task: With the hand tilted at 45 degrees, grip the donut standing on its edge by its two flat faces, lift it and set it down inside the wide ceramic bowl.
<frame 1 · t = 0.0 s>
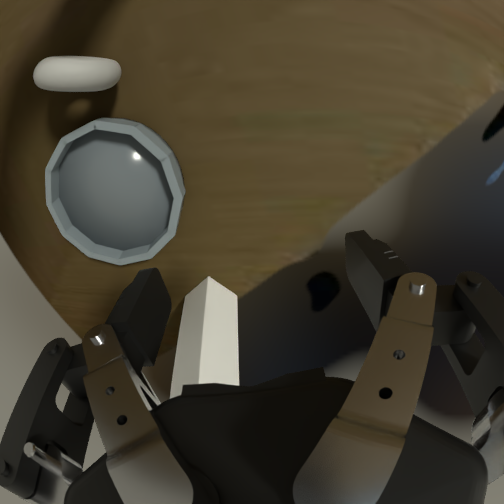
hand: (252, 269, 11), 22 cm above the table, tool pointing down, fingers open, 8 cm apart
bowl: (114, 189, 31), on the table
milk: (211, 294, 43), on the table
donut: (98, 70, 22), on the table
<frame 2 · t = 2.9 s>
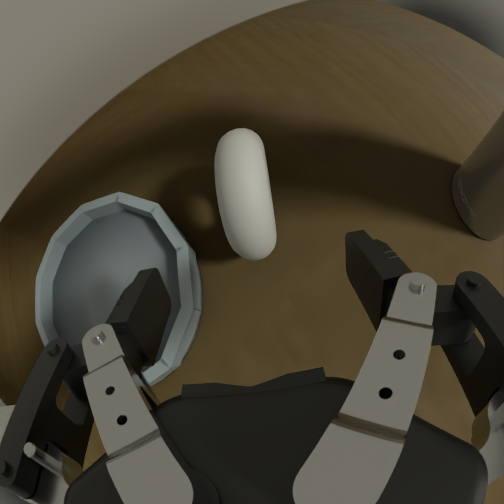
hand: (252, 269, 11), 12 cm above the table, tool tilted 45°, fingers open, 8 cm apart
bowl: (113, 296, 24), on the table
donut: (255, 220, 25), on the table
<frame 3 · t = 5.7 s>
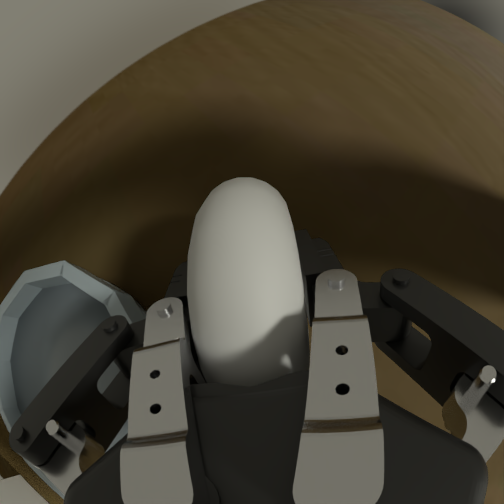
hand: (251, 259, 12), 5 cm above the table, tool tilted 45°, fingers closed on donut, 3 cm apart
bowl: (78, 395, 15), on the table
milk: (38, 502, 11), on the table
donut: (266, 312, 16), on the table, touching gripper
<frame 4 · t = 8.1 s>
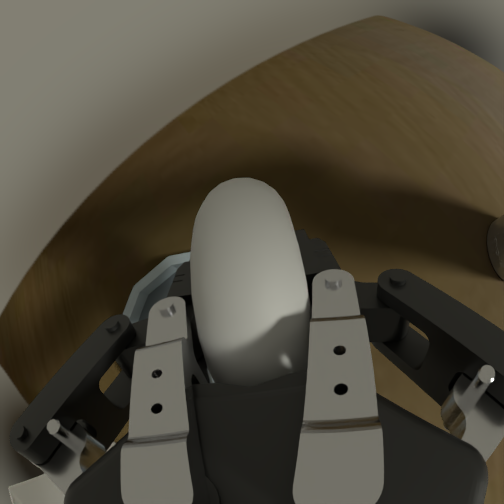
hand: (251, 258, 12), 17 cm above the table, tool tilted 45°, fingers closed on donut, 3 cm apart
bowl: (211, 345, 27), on the table
milk: (129, 467, 24), on the table
donut: (265, 312, 16), point 12 cm above the table, touching gripper
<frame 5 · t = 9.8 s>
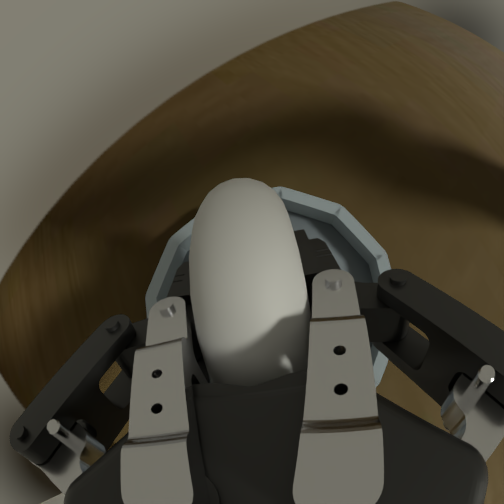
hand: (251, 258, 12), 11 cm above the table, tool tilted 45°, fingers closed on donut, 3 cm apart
bowl: (272, 314, 22), on the table
donut: (264, 312, 16), point 6 cm above the table, touching gripper
when the fingers open (7 cm above the table, at t = 10.7 s): donut drops 1 cm, resting on bowl.
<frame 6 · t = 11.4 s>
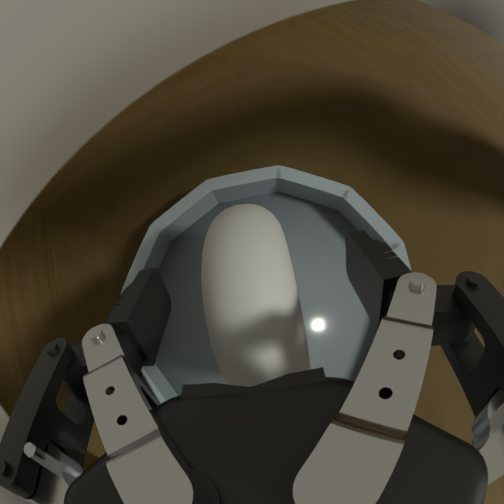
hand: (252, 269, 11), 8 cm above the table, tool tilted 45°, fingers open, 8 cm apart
bowl: (269, 314, 19), on the table
donut: (269, 315, 18), point 1 cm above the table, touching bowl
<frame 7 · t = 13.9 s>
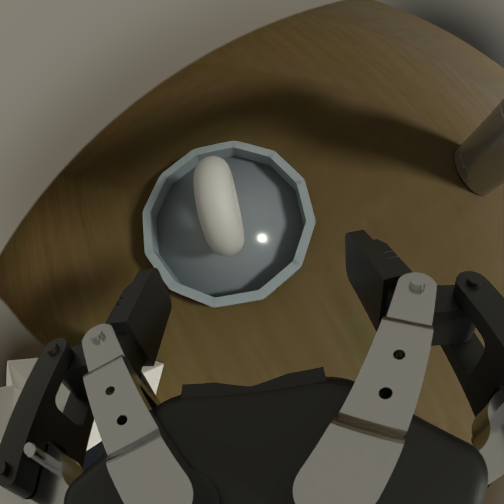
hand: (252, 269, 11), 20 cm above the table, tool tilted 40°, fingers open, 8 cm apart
bowl: (228, 224, 32), on the table
milk: (138, 374, 29), on the table
donut: (227, 222, 31), point 1 cm above the table, touching bowl
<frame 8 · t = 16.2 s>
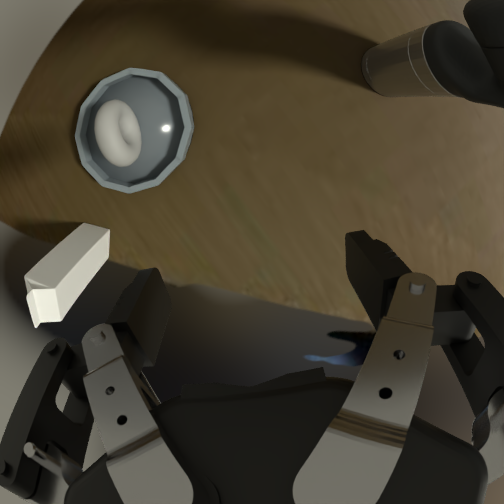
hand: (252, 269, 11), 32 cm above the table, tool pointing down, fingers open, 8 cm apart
bowl: (135, 129, 37), on the table
milk: (96, 239, 45), on the table
donut: (133, 130, 36), point 1 cm above the table, touching bowl
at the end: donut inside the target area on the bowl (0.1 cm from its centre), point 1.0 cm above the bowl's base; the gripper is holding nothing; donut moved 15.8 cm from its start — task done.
